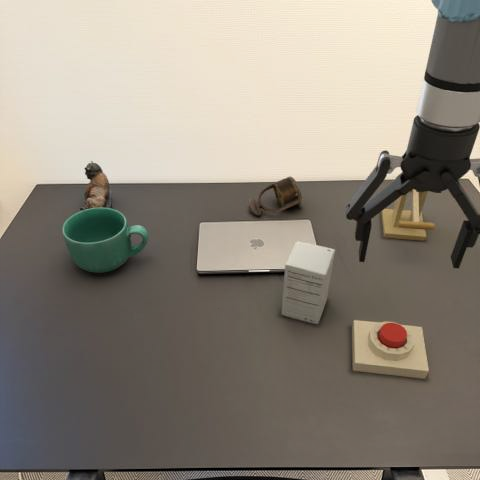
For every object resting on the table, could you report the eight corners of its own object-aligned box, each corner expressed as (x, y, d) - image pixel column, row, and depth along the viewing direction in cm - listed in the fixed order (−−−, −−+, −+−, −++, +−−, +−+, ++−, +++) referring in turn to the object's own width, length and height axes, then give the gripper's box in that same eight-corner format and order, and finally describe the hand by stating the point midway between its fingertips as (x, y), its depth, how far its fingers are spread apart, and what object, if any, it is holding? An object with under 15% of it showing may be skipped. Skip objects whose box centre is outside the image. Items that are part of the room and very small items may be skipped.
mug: (65, 278, 96) (51, 241, 89) (85, 241, 105) (74, 205, 98) (144, 284, 95) (136, 247, 88) (158, 246, 104) (152, 209, 97)
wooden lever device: (425, 241, 104) (442, 189, 95) (383, 237, 105) (397, 186, 96) (419, 215, 111) (436, 165, 102) (381, 212, 112) (393, 162, 103)
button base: (418, 334, 85) (424, 319, 82) (425, 379, 78) (432, 364, 75) (351, 327, 86) (355, 312, 84) (352, 370, 80) (356, 355, 77)
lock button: (403, 330, 81) (406, 323, 80) (405, 350, 78) (408, 343, 77) (377, 328, 82) (379, 321, 80) (378, 347, 79) (381, 340, 77)
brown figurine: (110, 224, 109) (101, 186, 102) (79, 226, 109) (68, 187, 102) (115, 197, 118) (107, 159, 110) (87, 198, 117) (76, 160, 110)
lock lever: (431, 233, 96) (435, 226, 94) (396, 230, 97) (399, 223, 95) (429, 183, 102) (433, 175, 99) (396, 181, 102) (399, 173, 100)
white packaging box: (291, 290, 93) (296, 239, 84) (327, 300, 92) (337, 248, 82) (279, 315, 89) (284, 264, 80) (317, 326, 87) (326, 274, 78)
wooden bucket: (307, 200, 106) (305, 169, 111) (251, 196, 105) (251, 165, 110) (301, 222, 112) (299, 192, 117) (248, 218, 111) (248, 188, 117)
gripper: (550, 108, 57) (489, 249, 72) (340, 103, 60) (324, 239, 75) (571, 135, 51) (500, 281, 67) (340, 128, 55) (323, 269, 70)
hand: (407, 259), depth 71 cm, fingers open, 13 cm apart
